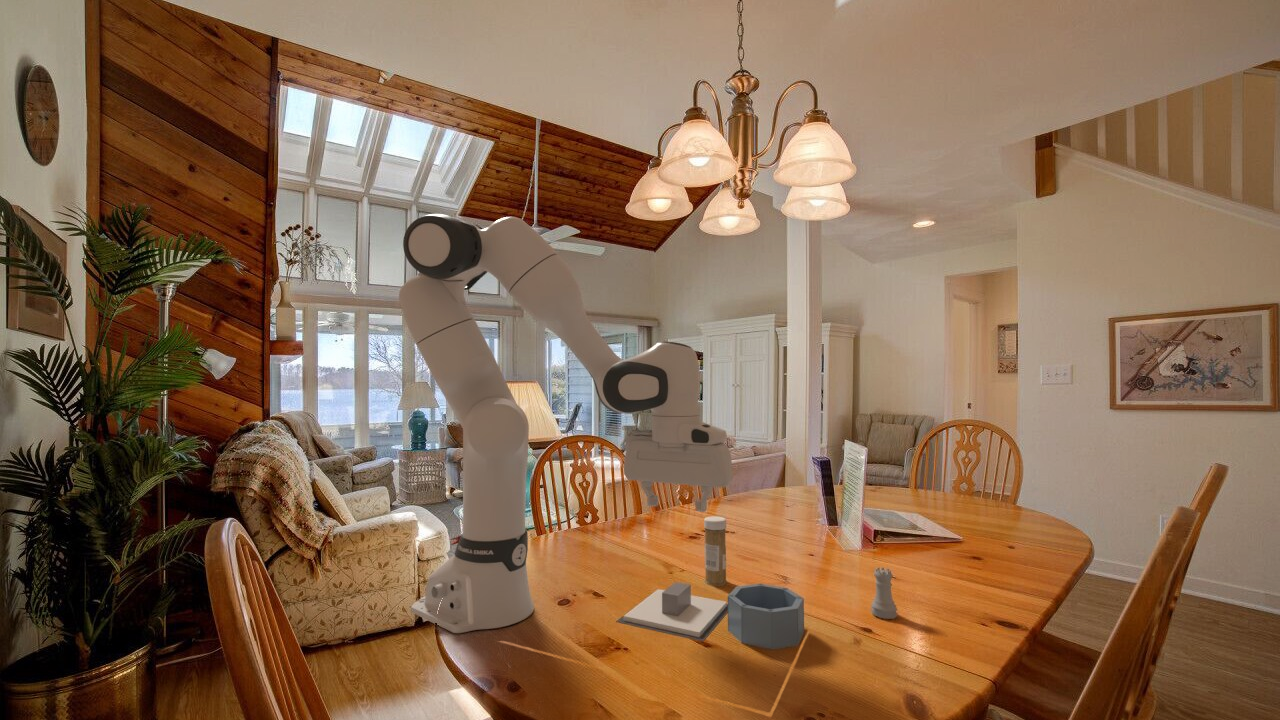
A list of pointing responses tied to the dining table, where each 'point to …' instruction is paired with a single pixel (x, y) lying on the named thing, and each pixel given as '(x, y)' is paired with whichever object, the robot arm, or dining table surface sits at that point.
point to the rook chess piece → (883, 595)
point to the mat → (680, 633)
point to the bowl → (766, 616)
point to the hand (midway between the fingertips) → (676, 508)
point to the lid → (677, 610)
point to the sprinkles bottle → (715, 551)
